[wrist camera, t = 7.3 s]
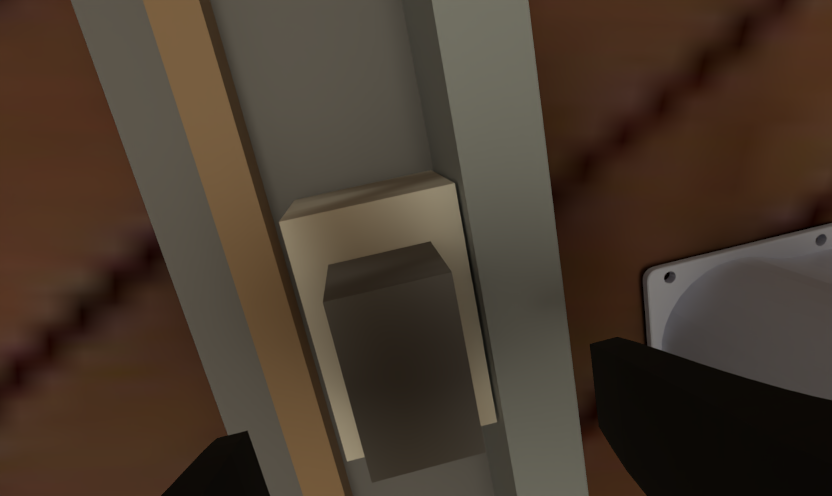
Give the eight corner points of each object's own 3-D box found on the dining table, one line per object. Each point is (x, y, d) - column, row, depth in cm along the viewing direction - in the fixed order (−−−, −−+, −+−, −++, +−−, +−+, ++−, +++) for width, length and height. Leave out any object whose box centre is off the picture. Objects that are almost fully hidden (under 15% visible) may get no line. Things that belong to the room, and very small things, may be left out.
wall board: (461, -153, 16) (519, -294, 10) (559, 521, 23) (621, 637, 18) (51, -86, 15) (-116, -205, 9) (294, 596, 22) (277, 743, 17)
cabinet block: (431, 169, 17) (483, 198, 11) (467, 363, 20) (530, 488, 13) (294, 200, 17) (259, 249, 10) (347, 393, 19) (346, 539, 12)
